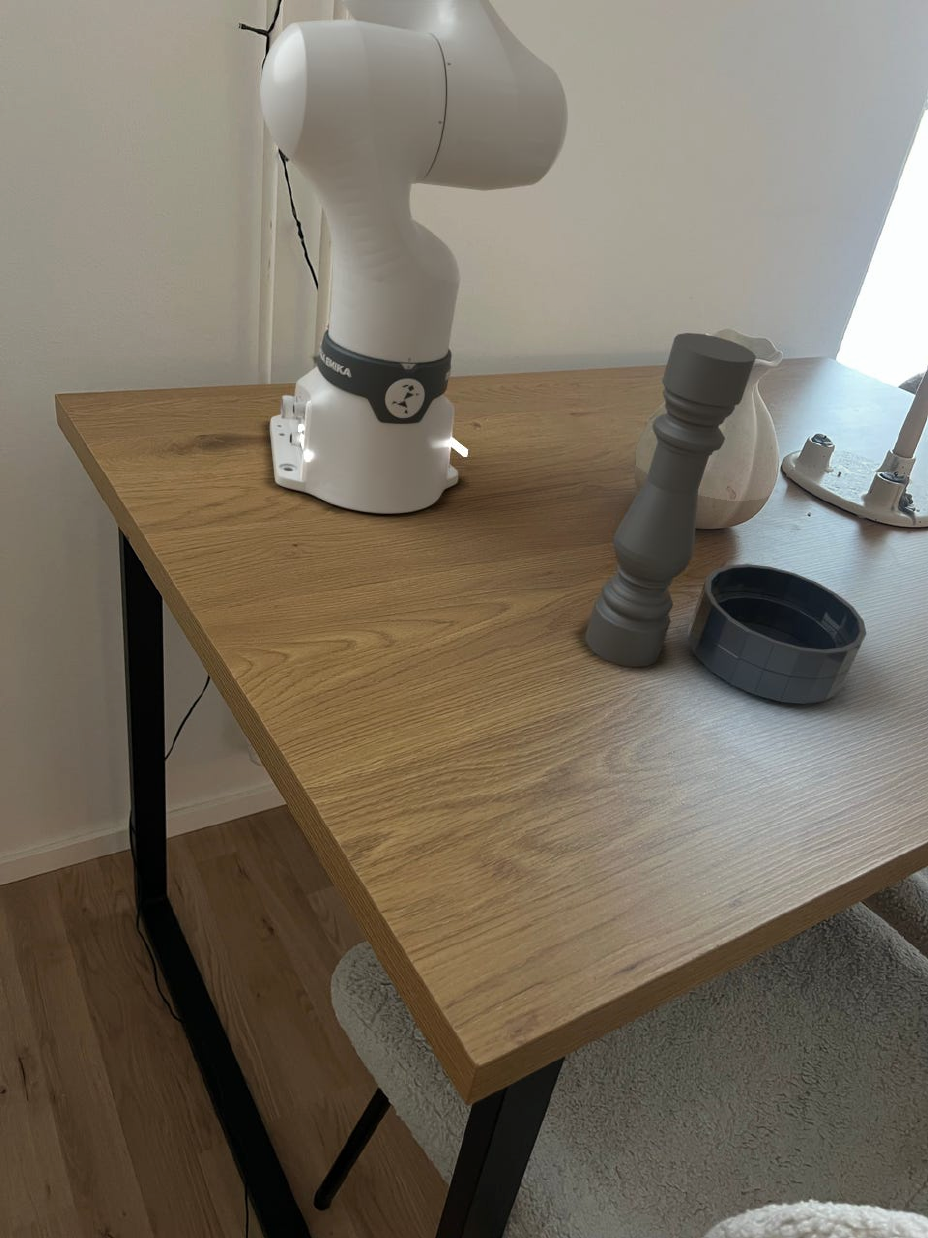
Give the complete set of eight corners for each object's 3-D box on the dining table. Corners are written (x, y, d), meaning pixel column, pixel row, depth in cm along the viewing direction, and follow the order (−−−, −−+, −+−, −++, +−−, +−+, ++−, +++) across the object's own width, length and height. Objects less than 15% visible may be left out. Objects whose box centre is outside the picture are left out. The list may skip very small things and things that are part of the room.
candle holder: (671, 646, 83) (772, 354, 70) (639, 677, 79) (740, 369, 66) (606, 615, 86) (691, 326, 73) (571, 642, 81) (656, 339, 68)
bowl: (657, 623, 86) (675, 568, 83) (775, 612, 92) (796, 560, 89) (746, 718, 77) (770, 659, 74) (873, 700, 82) (900, 644, 79)
